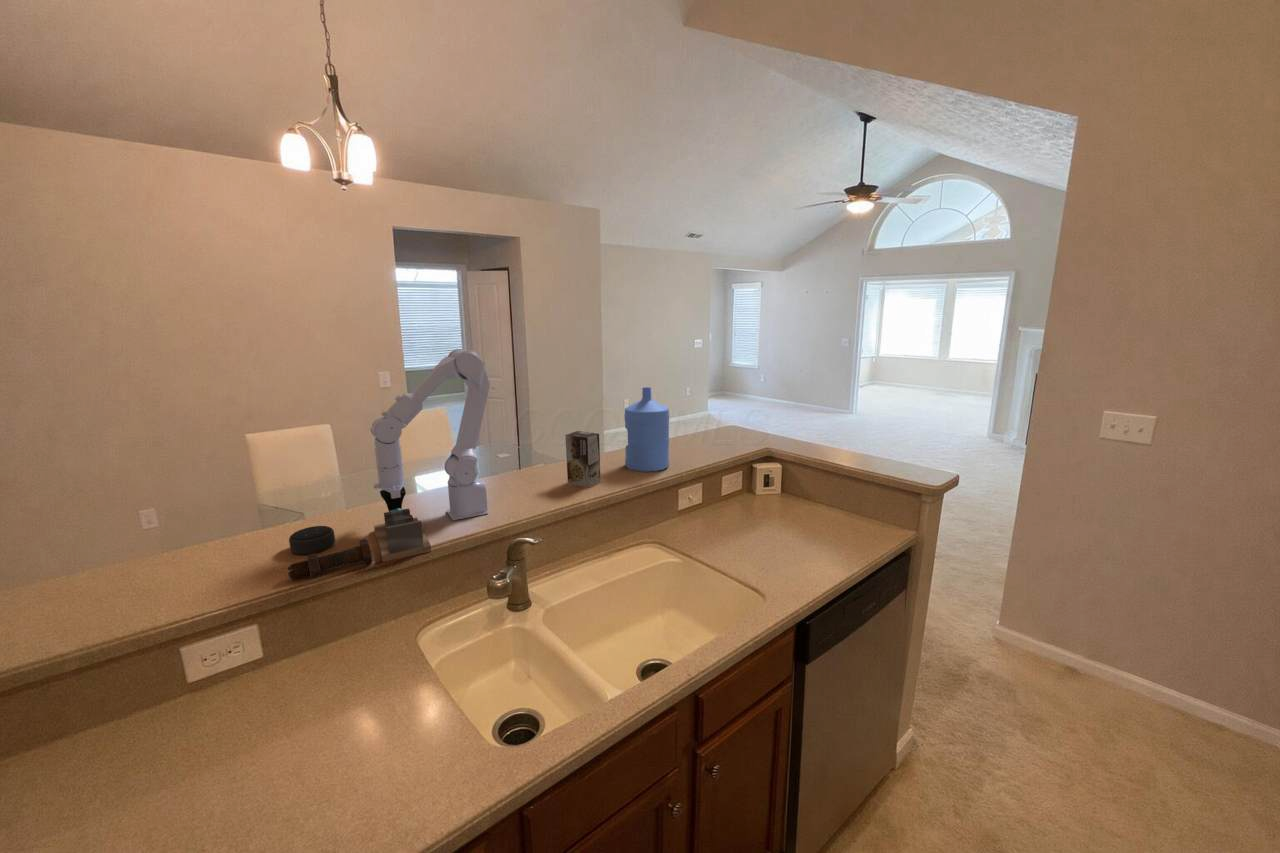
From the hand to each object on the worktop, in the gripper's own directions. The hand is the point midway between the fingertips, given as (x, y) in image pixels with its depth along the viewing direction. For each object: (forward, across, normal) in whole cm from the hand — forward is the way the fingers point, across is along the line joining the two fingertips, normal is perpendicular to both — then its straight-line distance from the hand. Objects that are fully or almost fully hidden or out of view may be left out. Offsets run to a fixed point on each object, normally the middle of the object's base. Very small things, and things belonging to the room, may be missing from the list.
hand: (395, 517), depth 131 cm
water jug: (+3, -13, +83) cm, 84 cm away
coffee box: (+3, -8, +56) cm, 57 cm away
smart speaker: (+3, +2, -18) cm, 18 cm away
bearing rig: (+3, +9, 0) cm, 9 cm away
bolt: (+3, +17, -15) cm, 23 cm away
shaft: (+1, +9, 0) cm, 9 cm away
